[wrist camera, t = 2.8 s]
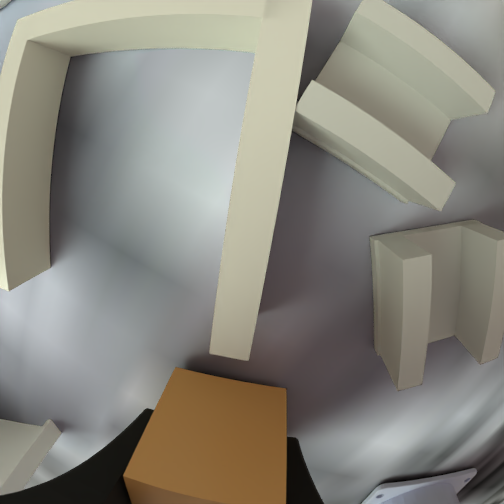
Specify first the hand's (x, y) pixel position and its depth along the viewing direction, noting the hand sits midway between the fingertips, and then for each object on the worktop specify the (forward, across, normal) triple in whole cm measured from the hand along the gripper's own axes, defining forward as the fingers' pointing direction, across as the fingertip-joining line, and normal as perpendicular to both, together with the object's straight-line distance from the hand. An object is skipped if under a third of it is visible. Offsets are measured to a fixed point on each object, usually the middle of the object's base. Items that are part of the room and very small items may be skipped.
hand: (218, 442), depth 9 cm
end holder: (+2, +4, -9) cm, 10 cm away
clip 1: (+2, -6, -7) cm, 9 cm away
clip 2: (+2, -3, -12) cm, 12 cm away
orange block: (+2, 0, 0) cm, 2 cm away
